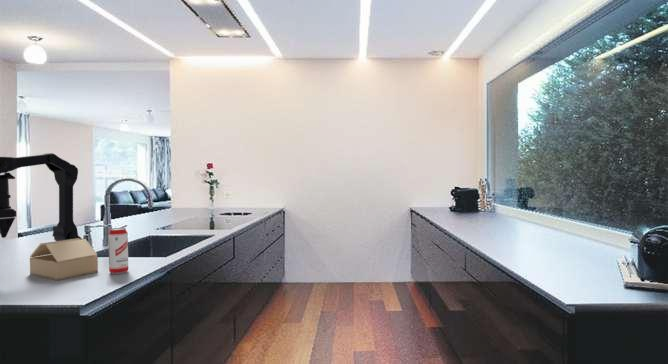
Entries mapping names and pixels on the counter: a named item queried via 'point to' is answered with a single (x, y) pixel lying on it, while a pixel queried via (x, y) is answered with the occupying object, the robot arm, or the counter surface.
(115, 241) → the beer can
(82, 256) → the flap
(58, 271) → the cardboard box
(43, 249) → the flap
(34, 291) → the counter surface
